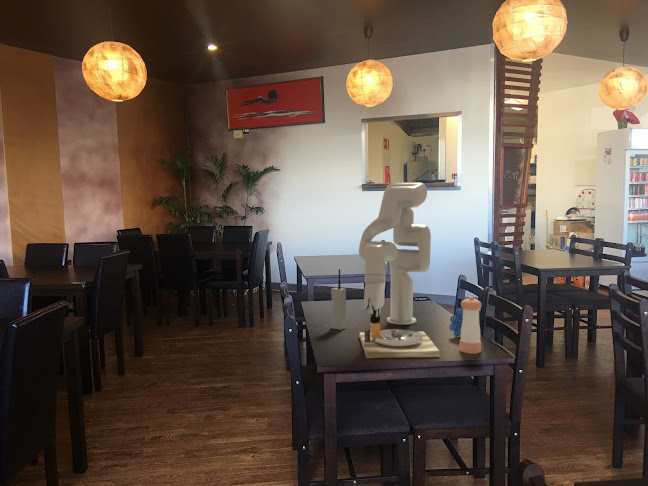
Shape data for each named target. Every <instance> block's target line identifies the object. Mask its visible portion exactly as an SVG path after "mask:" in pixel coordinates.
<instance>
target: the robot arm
mask: <svg viewBox="0 0 648 486" xmlns="http://www.w3.org/2000/svg"><path fill="white" fill-rule="evenodd" d="M427 196H428V189H427V186H426V184H424V183H423V182H395V183H394V182H393V183H389V184H388V185H387V186H386V188H385V190H384V192H383V196H382V200H381V204H380V208H379V212H378V216H377V218H376V219H374V220H373V221H371V223H370V224H369V225H368V226H366V227H365V229H364V230H363V231H362V235H361V238H360V242H359V245H358V247H359V248H358V255H359V257H360V259H361V260H363V261H364V283H365V286H364V294H363V309H364V310H368V315H369V317H370V319H369V320H370V321H369V322H370V323H369V324H370V327H371V322H380V323H381V309H382V307H383V306H384V305H385V297H386V296H385V283H386V263H388V265H389V273H390V316H388V317H386V322H387V323H389V324H393V325H397V326H398V325H400V326H401V325H402V326H403V325H414V324H415V323H417V319H416V318H415V317H413V316H414V315H413V313H414V312H413V306H414V304H413V303H414V302H413V301H414V295H413V293H414V282H413V281H414V280H413V279H412V277H411V275H410V274H409V273H426V272H428V271H429V269H430V263H431V246H432V245H431V241H432V238H431V237H432V235H431V231H430V230H431V229H430V228H429V226H428V225H426V224H421V223H420V224H417V223H416V224H415V223H414V222H415V221H414V217H415V216H414V210H413V208H418V207H420V206H421V205H422V204H423V203H424V202H425V201H426V199H427ZM389 230H392V231H393V233H392V237H393V242H391V241H380V240H379V241H377V240H375V241H374V240H373V239H374V238H375V237H376V236H377V235H380V234H382V233H385V232H386V231H389ZM397 246H399V247H417V248H418V249H406V248H405V249H404V248H397Z"/></svg>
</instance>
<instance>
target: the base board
mask: <svg viewBox="0 0 648 486" xmlns="http://www.w3.org/2000/svg"><path fill="white" fill-rule="evenodd" d="M416 332H417V333H419V334H421V335H422V342H421V343H420V344H418V345H415V346H410V347H390V346H384V345H380V344H377V343H375V342H373V340H372V337H371V329H365V330H364V331H363V332H362V331H360V332H359V340H360V343H361V346H362V349H363V352H364V355H365V358H367V359H377V358H378V359H379V358H380V359H382V358H383V359H385V358H387V359H389V358H390V359H391V358H394V359H395V358H440V357H441V351H440V349H438V347H437V346H436V345H435V343H434V342H433V341H432V340H431V338H430V337H429V336H428V335H427V334H426V332H424V330H423V331H420V330H419V331H416Z"/></svg>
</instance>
